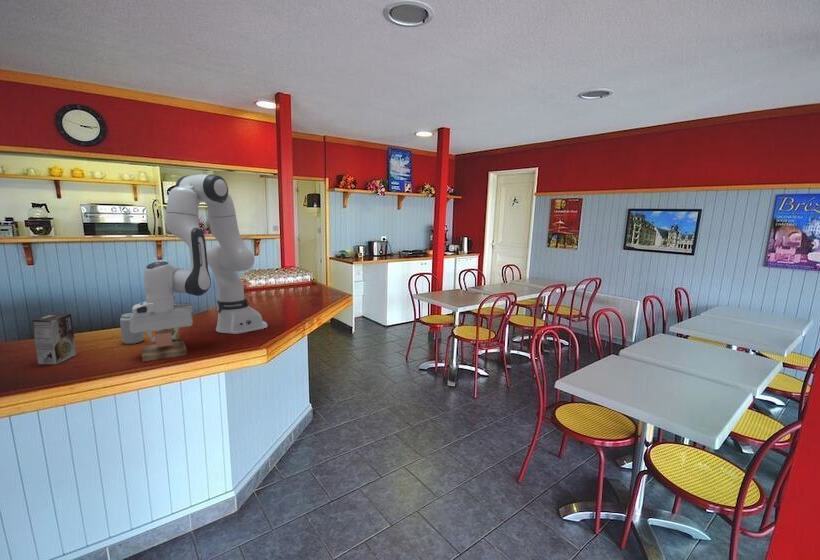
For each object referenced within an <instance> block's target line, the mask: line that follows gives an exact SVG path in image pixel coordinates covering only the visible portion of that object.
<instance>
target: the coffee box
mask: <svg viewBox="0 0 820 560" xmlns="http://www.w3.org/2000/svg"><path fill="white" fill-rule="evenodd" d="M31 322H32V328H33V329H32V330H33V334H34V335H33V336H34V343H35V350H36V357H37V364H38V365H58V364H60V363H62V362H65V361H66V360H68V359H71V358H73V357H75V356H77V350H76V340H75V335H74V326H73V319H72V313H59V312H57V313H55V312H54V313H50V314H47V315H44V316H41V317H38V318H35V319H32V321H31Z"/></svg>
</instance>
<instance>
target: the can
mask: <svg viewBox="0 0 820 560" xmlns="http://www.w3.org/2000/svg"><path fill="white" fill-rule="evenodd" d="M132 313H133V312H129V313H123V314H122V315H121V317H120V318H119V324H120V335H121V336H120V337H121V343H123V344H125V345H135V344H136V343H137V344H140V343H142V342H143V341H144V340H145V332H139V333H132V332H130V317H131V314H132ZM141 341H142V342H141ZM139 342H140V343H139ZM137 344H136V345H137Z"/></svg>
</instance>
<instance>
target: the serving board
mask: <svg viewBox="0 0 820 560" xmlns="http://www.w3.org/2000/svg"><path fill="white" fill-rule="evenodd" d="M187 349H188V348H187V347H186V343H185V341H184V340H179V341H177V342H172V345H170V346H163V347H156V343H155V344H149V345H141V361H142V363H144V362H150V361H151V360H152V361H156V360H157V359H158V360H165V359H171V358H177V357H182V356H188V350H187ZM170 357H171V358H170ZM164 358H165V359H164Z"/></svg>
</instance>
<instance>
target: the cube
mask: <svg viewBox="0 0 820 560" xmlns="http://www.w3.org/2000/svg"><path fill="white" fill-rule="evenodd" d="M154 333H155V334H154V335H155V336H156V342H155V344H156V347H163V346H170V345H172V337H171V330H170V329H169V330H155V331H154Z"/></svg>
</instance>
